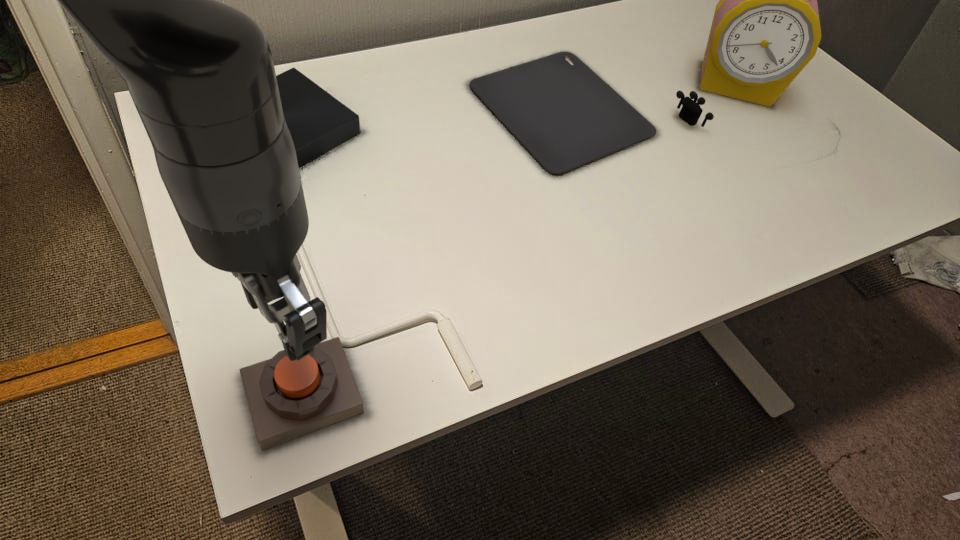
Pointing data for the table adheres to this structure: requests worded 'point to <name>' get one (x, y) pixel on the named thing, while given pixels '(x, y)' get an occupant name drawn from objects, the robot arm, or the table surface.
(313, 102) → the stove panel
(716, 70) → the alarm clock
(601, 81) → the mouse pad
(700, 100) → the wireless earbuds
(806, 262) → the table surface
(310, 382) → the button
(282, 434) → the button block
